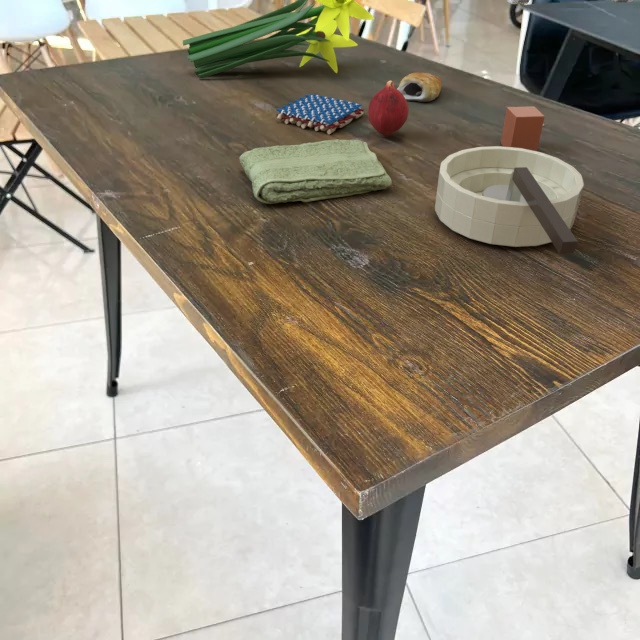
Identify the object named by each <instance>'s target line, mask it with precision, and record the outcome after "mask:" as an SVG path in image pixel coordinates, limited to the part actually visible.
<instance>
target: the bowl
mask: <svg viewBox="0 0 640 640" xmlns="http://www.w3.org/2000/svg"><path fill="white" fill-rule="evenodd" d="M439 167H440V168H439V172H438V179H437V180H438V181H437V189H436V196H435V204H434V211H435V213H436V215H437V217H438V219H439V221H440V222H441V223H443V224H444V225H445V226H446V227H448V228H449V229H450V230H451V231H453V232H455V233H457V234H458V235H459V234H460V235H462V236H464V237H466V238H467V239H471V240H474V241H478V242H482V243H486V244H489V245H497V246H506V247H513V248H514V247H515V248H517V247H519V248H521V247H537V246H542V245H545V244H549V243H552V241H551V240H550V238H549V237H548V235H547V233H546V232H545V230H544V229H543V227H542V226H541V224H540V222H539V221H538V219H537V218H536V216H535V214H534V213H533V211H532V210H531V208H530V207H529V205H528V203H527V202H515V201H505V200H498V199H494V198H489V197H485V196H482V195H483V191H484V190H485V189H486V188H487V187H489V186H493V185H509V183H510V178H511V174H512V171H514V168H518V167H527V168H528V170H529V171H530V173H531V174H532V175H533V177H534V178H535V180H536V181H537V183H538V184H539V186H540V187H541V189H542V190H543V191H544V193H545V194H546V196H547V197H548V199H549V200H550V202H551V203H552V205H553V206H554V207H555V209H556V210H557V212H558V213H559V215H560V216H561V218H562V219H563V221H564V222H565V223H566V225H567V226H568V228H569V229H570V231H571V230H572V228H573V226H574V224H575V220H576V217H577V214H578V209H579V205H580V202H581V199H582V195H583V191H584V187H585V183H584V178H583V176H582V174H581V173H580V172H579V171H578V170H577V169H576V168H575V167H574V166H573V165H571V164H569V163H567V162H565V161H564V160H562V159H560V158H558V157H555V156H552V155H550V154H547V153H545V152H540V151H538V150H537V151H532V150H527V149H522V148H513V147H503V146H502V145H500V146H499V145H496V146H494V145H493V146H492V145H491V146H477V147H472V148H471V147H470V148H466V149H461V150H459V151H456V152H454V153H451V154H449V155H448V156H446V158H445V159H443V160H442V161H441V162H440V166H439Z"/></svg>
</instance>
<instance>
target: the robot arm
mask: <svg viewBox="0 0 640 640" xmlns="http://www.w3.org/2000/svg"><path fill="white" fill-rule="evenodd" d="M610 1H611V2H614V3H632V2H634V0H610ZM506 2H507V3H508V4H510V5H527V4H529V3H530V0H506Z"/></svg>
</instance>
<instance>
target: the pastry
mask: <svg viewBox="0 0 640 640" xmlns="http://www.w3.org/2000/svg"><path fill="white" fill-rule="evenodd" d="M442 86H443V81H442V79H441V77H440V76H437V75H434V74H432V73H430V72H419V71H417V72H416V71H415V72H413V73H412V72H411V73H408V74H407V75H405V76H403V78H401V80H400V82H399V85H398V87H397V88H396V89H397V90H399V91H400V92H401V93H402V94H403V96H404V97H405V99H406V101H407V102H408V101H409V102H410V101H417V102H421V103H423V102H427V103H429V102H431V101H434V100H435V99H436V98H438V97H439V96H440V93H441V91H442Z"/></svg>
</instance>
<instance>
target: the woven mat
mask: <svg viewBox="0 0 640 640" xmlns="http://www.w3.org/2000/svg"><path fill="white" fill-rule="evenodd" d="M287 103H288V104H287V105H282V108H276V112H278V113H277V114H275V117H276V119H277V120H278V121H283V120H284V124H286V125H287V124H289V123H291V124H293V125H296V126H297V127H301V128H302V129H303V130H304V129H307V127H308V128H314V131H315V132H319V131H322V132H326V134H327V135H331V134H332V133H334V132H335V131H336V129H338V128H340V129H341V128H343V127H345V126H347V125H349V124H350V123H352V121H353V120H354V119H355V120H358V119H359V118H360V117H362V116H364V114H365V113H364V111H365V109H364V108H362V106H363V104H362V103H360V104H359V103H357V102H354V101H353V102H351V101H347V100H343V99H340V98H337V99H336V98H333V97H331V96H329V97H328V96H324V95H319V94H316V93H313V94H305V97H303V96H301V97H299V99H294V100H293V102H287Z"/></svg>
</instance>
